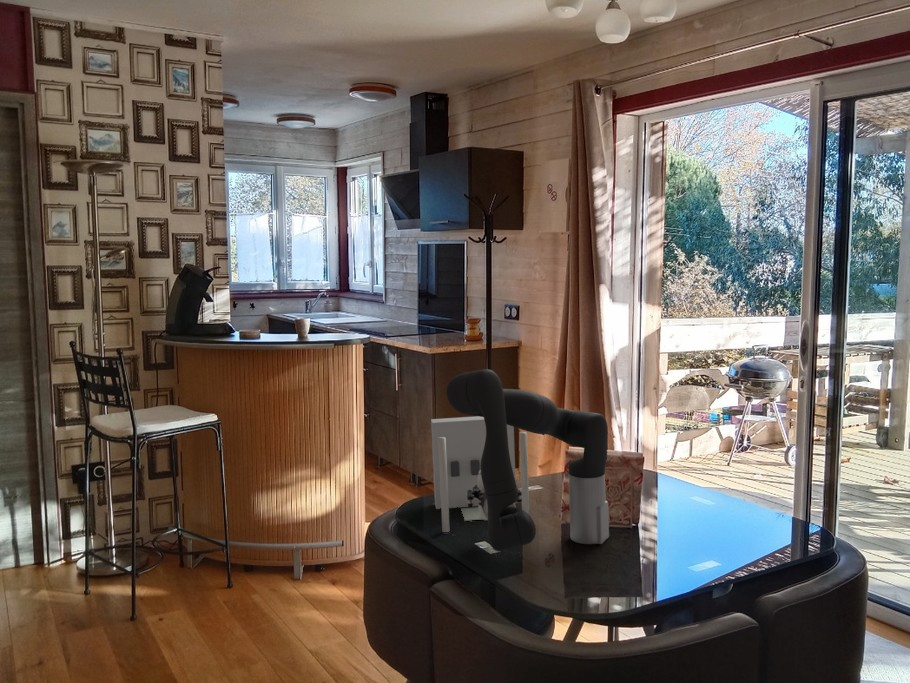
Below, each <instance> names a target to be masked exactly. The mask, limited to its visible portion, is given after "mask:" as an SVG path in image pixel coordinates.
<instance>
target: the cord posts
mask: <svg viewBox="0 0 910 683" xmlns="http://www.w3.org/2000/svg"><path fill="white" fill-rule="evenodd" d="M527 432H528V431H519V433H518V434H519V436H518V437H519V461H520V462H519V464H520V465H519V466H520V467H519V468H520V491H521V492H522V502H521V510H523V511H525V512H526V513H528V514H529V515H530V495H529V494H530V493H529V492H530V490H529V461H528V460H529V459H528V434H527ZM438 447H439V469H440V491H441V509H440V510H441V512H440V513H441V533H442V532H449V531H450V530H451V529H450V528H451V527H450V526H451V525H450V508H449V504H448V481H447V459H446V438H445V437H439V438H438ZM449 533H450V532H449Z"/></svg>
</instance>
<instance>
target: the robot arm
mask: <svg viewBox="0 0 910 683" xmlns="http://www.w3.org/2000/svg"><path fill="white" fill-rule="evenodd" d="M445 392H446V398H447V400H448V402H449V403H448V404H450V406H451V407H452V408H453V409H454V410H455V411H456V412H457V413H460V414H462V415H467V416H472V417H476V416H479V417H484V420H485V425H486V440H485V445H484V450H483V454H482V459H481V477H482V482H483V486H484V489H479V488H478V487H477V485H475V487H473V491H472V490H467V501H468V506H469V507H468V508H472V507H474V506H473V505H474V503H478V504H479V505H481V506H482V509H483V511H484V514H485V516H486V518H487V519H488V521H487V525H486V526H487V527H486V528H487V529H486V534H487V540H488V541H487V542H488V543H489V545H490V547H491V548H492V549H493V550H495V551H497V552H503V551H507V550H511V549H515V548H517V547H522V546H526V545H529V544H530V543H532V542H533V540H534V539H535V537H536V533H537V529H536V524H535V521H534V520H533V518H532V517H531V516H530V513H529V514H528V513H526V512H525V511H523V510H522V508H519V507H517V506H516V503H522V492H521V489H519V488H518V487H517V482H515V481H516V477H515V478H514V474H513V470H512V466H511V461H510V455H509V447H508V435H507V425H510V426H513V427H514V428H517V429H520V430H522V431H524V432H528V433H532V434H536V435H547V436H551V437H553V438H555V439H557V440H559V441H562V442H563V443H565V444H566V445H568V446H572V447H576V448H582V449H583V454H582V455H583V456H582V457H580V458H577V459H572V460H571V461H570V462H569V464H568V496H569V497H568V498H569V501H568V503H569V533H570V534H569V536H570V540H572V542H575V543H578V544H583V545H596V544H597V545H603V543H605V541H607V539H608V538H609V537H610V527H609V526H610V525H609V523H610V522H609V521H610V519H609V501H608V500H606V498H607V496H606V481H605V466H606V462H607V460H608V443H609V430H608V422H607V420H606V418H605V416H604V415H603V414H602V413H598V412H592V411H584V410H577V409H576V410H574V409H566V408H561V407H557V406H556V404H555V403H554V402H553V400H551V399H550V398H548V397H546V396H545V395H542V394H539V393H536V392H534V391H530V390H526V389H524V390H523V389H516V388H515V389H514V388H503V384H502V381H501V379H500V377H499V375H498V373H496V372H495V371H494V370H492V369H488V368H487V369H485V368H483V369H479V370H472V371H468V372H463V373H460V374H457V375H456V376H455V375H454V377H452V378H451V379H450V381H449V382H448V383H447V386H446V390H445ZM515 502H516V503H515ZM471 506H472V507H471Z"/></svg>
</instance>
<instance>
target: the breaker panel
mask: <svg viewBox="0 0 910 683" xmlns="http://www.w3.org/2000/svg"><path fill="white" fill-rule="evenodd" d="M430 426H431V450H432V470H433V491H434V506H435V510H441V509H440V508H441V491H440V469H439V447H438V438H439V437H445V438H446V459H447V481H448V504H449V509H456V508H457V507H458V508H470V507H469V506H468V501H467V490H472V491H473V487H475V485H477V477H478V474H479V473H478V472H479V471H480V470H481V459H482V454H483V450H484V445H485V440H486V425H485V420H484V417H479V416H462V417H447V418H434V419H433V418H431V419H430ZM514 429H515V427H513V426H510V425H507V435H508V447H509V455H510V461H511V466H512V470H513V474H514V478H515V479H516V458H515V453H516V452H515V430H514ZM515 482H516V480H515ZM516 483H517V482H516ZM515 504H517V501H516V502H515ZM472 507H478V503H474V505H473V506H472ZM458 508H457V509H458Z"/></svg>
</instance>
